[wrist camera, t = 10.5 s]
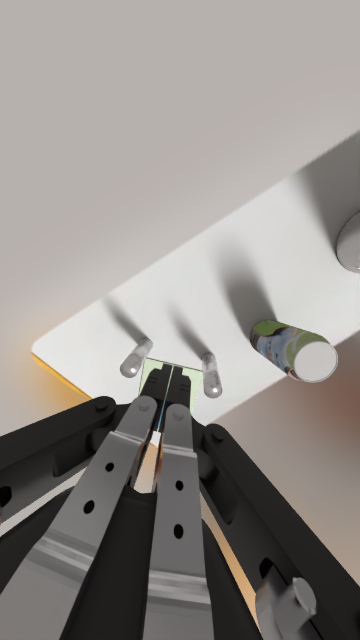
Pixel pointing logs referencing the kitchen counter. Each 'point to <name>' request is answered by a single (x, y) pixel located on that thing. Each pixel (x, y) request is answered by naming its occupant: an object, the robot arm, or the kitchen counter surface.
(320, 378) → the beverage can
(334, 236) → the kitchen counter surface
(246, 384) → the kitchen counter surface
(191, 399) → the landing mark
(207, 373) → the post
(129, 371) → the post
